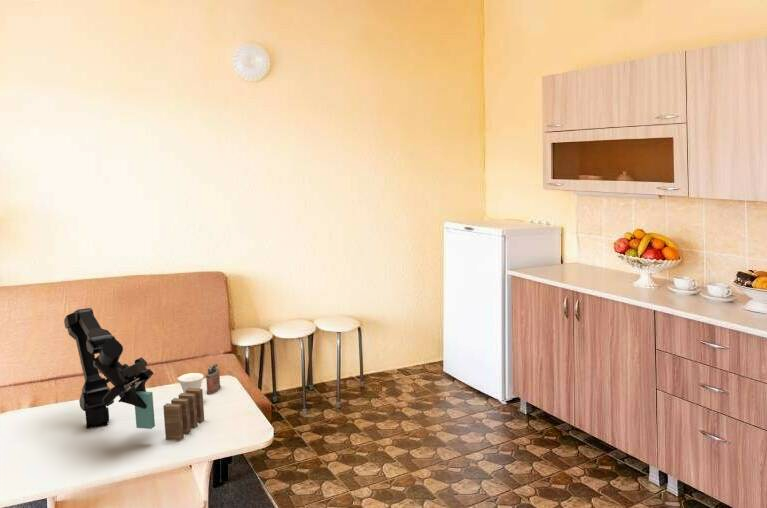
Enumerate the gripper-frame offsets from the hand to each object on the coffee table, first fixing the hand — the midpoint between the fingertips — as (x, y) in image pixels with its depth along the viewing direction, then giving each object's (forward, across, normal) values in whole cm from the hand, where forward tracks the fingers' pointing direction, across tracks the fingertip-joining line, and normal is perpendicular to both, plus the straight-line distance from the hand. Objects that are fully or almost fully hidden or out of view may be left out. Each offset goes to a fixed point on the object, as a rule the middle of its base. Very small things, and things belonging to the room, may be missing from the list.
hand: (148, 406), depth 184 cm
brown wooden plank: (+12, +14, +5) cm, 19 cm away
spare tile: (+4, 0, +6) cm, 7 cm away
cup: (+6, +33, +12) cm, 35 cm away
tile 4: (+12, +5, +5) cm, 14 cm away
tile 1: (+12, +18, +5) cm, 22 cm away
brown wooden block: (+12, +9, +5) cm, 16 cm away
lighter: (+7, +45, +10) cm, 47 cm away
